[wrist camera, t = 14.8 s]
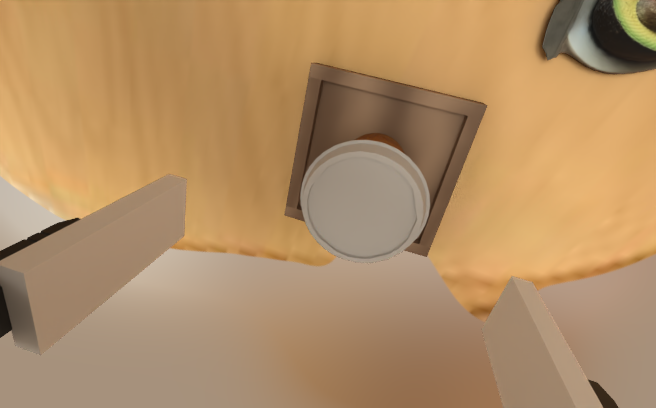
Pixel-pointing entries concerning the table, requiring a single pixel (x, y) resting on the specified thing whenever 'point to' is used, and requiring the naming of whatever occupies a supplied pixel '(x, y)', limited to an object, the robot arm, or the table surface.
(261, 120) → the table surface
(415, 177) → the disposable coffee cup
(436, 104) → the walnut tray
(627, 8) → the salad plate
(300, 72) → the table surface
